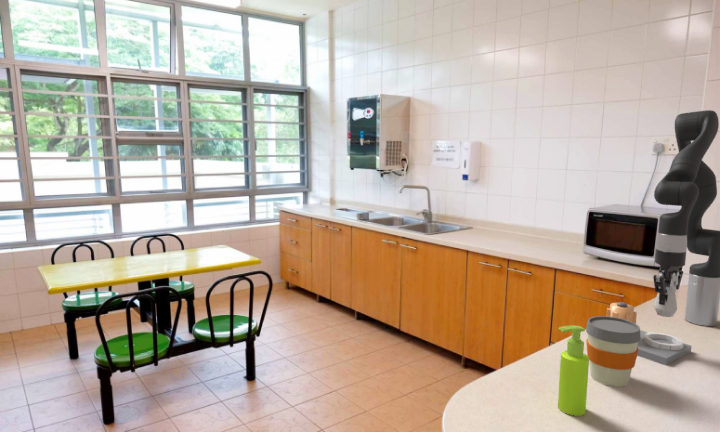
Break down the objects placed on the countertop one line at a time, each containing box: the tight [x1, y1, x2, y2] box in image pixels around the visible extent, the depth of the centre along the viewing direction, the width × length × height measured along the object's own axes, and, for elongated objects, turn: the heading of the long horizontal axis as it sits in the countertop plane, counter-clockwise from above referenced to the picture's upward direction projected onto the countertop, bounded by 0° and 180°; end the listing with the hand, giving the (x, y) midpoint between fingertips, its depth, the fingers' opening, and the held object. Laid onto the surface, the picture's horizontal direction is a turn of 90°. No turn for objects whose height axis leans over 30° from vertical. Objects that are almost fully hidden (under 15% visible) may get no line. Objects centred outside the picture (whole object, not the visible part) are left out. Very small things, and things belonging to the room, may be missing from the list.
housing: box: [606, 301, 692, 366], centre depth 141 cm, size 16×21×13 cm
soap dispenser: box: [557, 325, 590, 417], centre depth 105 cm, size 6×7×20 cm
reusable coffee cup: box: [585, 315, 641, 388], centre depth 120 cm, size 13×13×15 cm
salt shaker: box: [653, 275, 678, 318], centre depth 137 cm, size 6×6×13 cm
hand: (665, 304), depth 137 cm, fingers closed on salt shaker, 3 cm apart
